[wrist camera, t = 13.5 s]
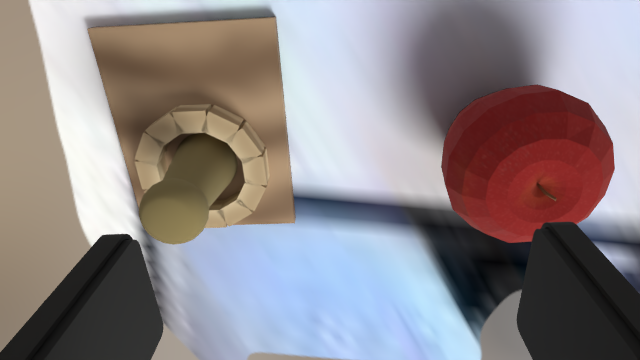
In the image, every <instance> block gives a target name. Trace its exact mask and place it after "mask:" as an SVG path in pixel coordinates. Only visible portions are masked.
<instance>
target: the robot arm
mask: <svg viewBox="0 0 640 360" xmlns="http://www.w3.org/2000/svg"><path fill="white" fill-rule="evenodd" d="M517 325H518V330H519V332H520V335H521V337H522V339H523V341H524V343H525V345H526V347H527V349H528V351H529V353H530V355H531V357H532V359H533V360H640V294H639V293H638V292H637V291H636V290H635V288H634V287H633V286H632V285H631V284H630V283H629V282H628V281H627V280H626V279H625V277H624V276H623V275H622V274H621V273H620V272H619V271H618V270H617V269H616V268H615V267H614V265H613V264H612V263H611V262H610V261H609V260H608V259H607V258H606V257H605V256H604V254H603V253H602V252H601V251H600V250H599V249H598V248H597V247H596V246H595V245H594V243H593V242H592V241H591V240H590V239H589V238H588V237H587V236H586V235H585V234H584V233H583V231H582V230H581V229H580V228H579V227H578V226H577V225H576V224H575V223H574V222H546V223H544V224H543V225H542V227H541V229H536V230H535V231H534V234H533V238H532V243H531V248H530V253H529V258H528V263H527V268H526V273H525V278H524V283H523V288H522V293H521V298H520V303H519V308H518V314H517ZM162 333H163V321H162V317H161V314H160V311H159V307H158V304H157V301H156V297H155V294H154V291H153V287H152V284H151V281H150V277H149V274H148V271H147V267H146V264H145V261H144V257H143V254H142V251H141V247H140V244H139V242H138V241H137V240H133V239H132V237H131V236H130V235H128V234H112V235H102V236H101V237H100V238H99V239H98V240H97V241H96V243H95V244H94V245H93V246H92V247H91V248H90V250H89V251H88V252H87V253H86V254H85V255H84V257H83V258H82V259H81V260H80V261H79V262H78V263H77V265H76V266H75V267H74V268H73V269H72V270H71V272H70V273H69V274H68V275H67V276H66V277H65V278H64V280H63V281H62V282H61V283H60V284H59V285H58V286H57V288H56V289H55V290H54V291H53V292H52V293H51V295H50V296H49V297H48V298H47V299H46V300H45V301H44V303H43V304H42V305H41V306H40V307H39V308H38V310H37V311H36V312H35V313H34V314H33V315H32V317H31V318H30V319H29V320H28V321H27V322H26V323H25V325H24V326H23V327H22V328H21V329H20V330H19V332H18V333H17V334H16V335H15V336H14V337H13V339H12V340H11V341H10V342H9V343H8V344H7V345H6V347H5V348H4V349H3V350H2V351H1V352H0V360H151V358H152V356H153V354H154V352H155V349H156V347H157V345H158V343H159V341H160V339H161V336H162Z"/></svg>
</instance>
